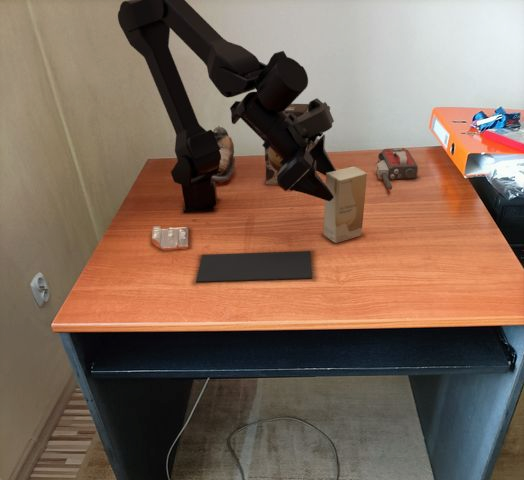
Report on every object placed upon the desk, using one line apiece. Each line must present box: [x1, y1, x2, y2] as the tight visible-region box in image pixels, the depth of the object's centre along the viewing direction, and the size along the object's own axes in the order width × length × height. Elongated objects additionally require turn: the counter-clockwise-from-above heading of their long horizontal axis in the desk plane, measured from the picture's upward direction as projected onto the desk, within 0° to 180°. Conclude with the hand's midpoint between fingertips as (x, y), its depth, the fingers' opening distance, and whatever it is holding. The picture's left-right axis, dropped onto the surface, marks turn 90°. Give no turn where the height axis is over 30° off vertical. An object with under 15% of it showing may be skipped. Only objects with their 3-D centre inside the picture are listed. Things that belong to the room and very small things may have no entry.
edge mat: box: [195, 250, 313, 284], centre depth 92 cm, size 20×9×1 cm, turn 88°
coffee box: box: [264, 103, 309, 186], centre depth 115 cm, size 9×6×16 cm
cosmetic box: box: [323, 166, 368, 244], centre depth 95 cm, size 6×4×12 cm
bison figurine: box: [212, 125, 236, 183], centre depth 121 cm, size 12×7×10 cm, turn 176°
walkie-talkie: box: [376, 147, 419, 191], centre depth 117 cm, size 9×4×20 cm
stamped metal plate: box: [151, 225, 190, 252], centre depth 101 cm, size 8×7×2 cm
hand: (334, 188), depth 93 cm, fingers open, 9 cm apart
